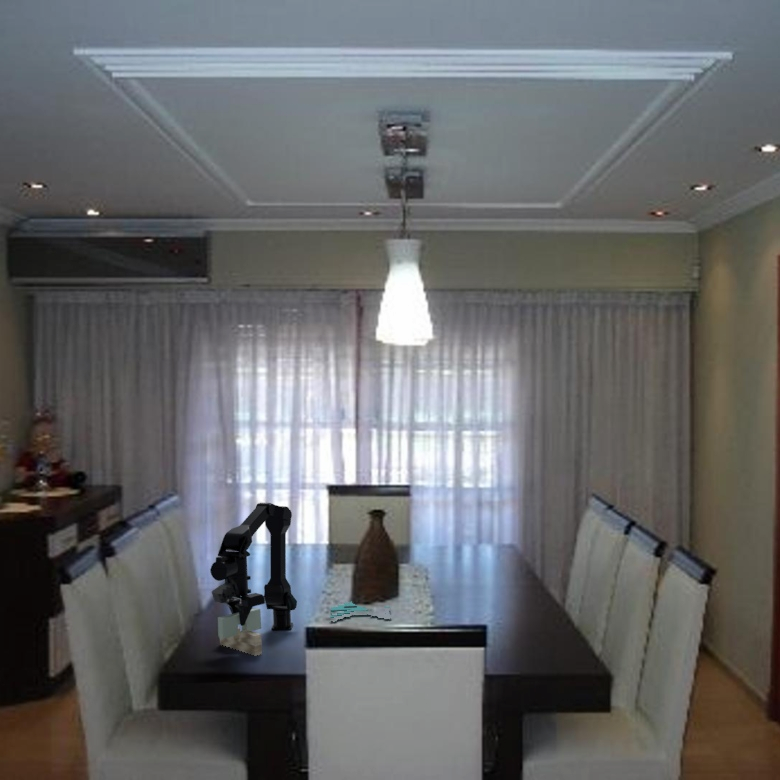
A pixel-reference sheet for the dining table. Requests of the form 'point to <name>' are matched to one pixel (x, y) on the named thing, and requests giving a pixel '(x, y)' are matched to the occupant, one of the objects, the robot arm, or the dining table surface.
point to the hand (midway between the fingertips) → (239, 624)
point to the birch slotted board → (244, 642)
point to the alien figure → (348, 607)
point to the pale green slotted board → (231, 622)
